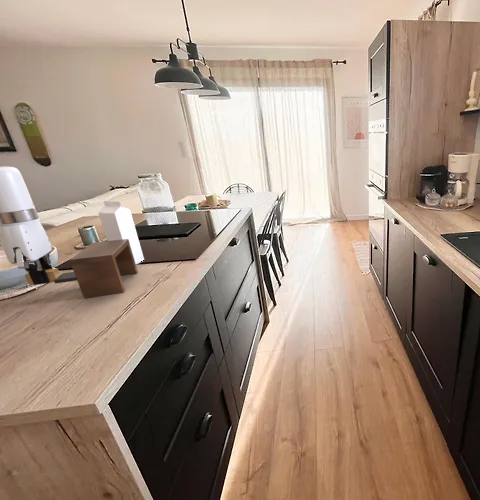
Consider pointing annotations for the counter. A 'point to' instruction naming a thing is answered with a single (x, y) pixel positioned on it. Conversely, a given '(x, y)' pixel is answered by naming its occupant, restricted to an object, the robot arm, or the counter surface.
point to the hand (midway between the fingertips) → (45, 280)
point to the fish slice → (55, 276)
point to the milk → (120, 226)
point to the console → (103, 267)
